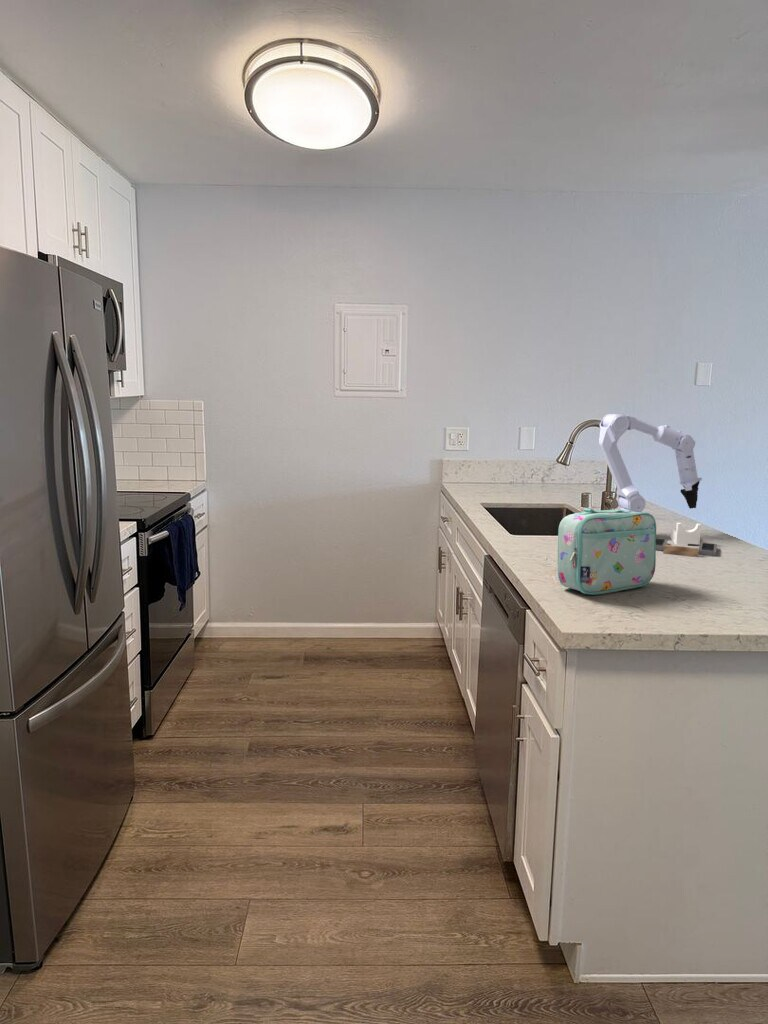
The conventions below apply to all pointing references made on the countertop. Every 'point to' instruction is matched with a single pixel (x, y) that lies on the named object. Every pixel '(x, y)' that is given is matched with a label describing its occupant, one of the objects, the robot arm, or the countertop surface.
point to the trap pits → (704, 548)
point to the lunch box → (606, 550)
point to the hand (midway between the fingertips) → (693, 504)
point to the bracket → (685, 535)
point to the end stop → (680, 550)
